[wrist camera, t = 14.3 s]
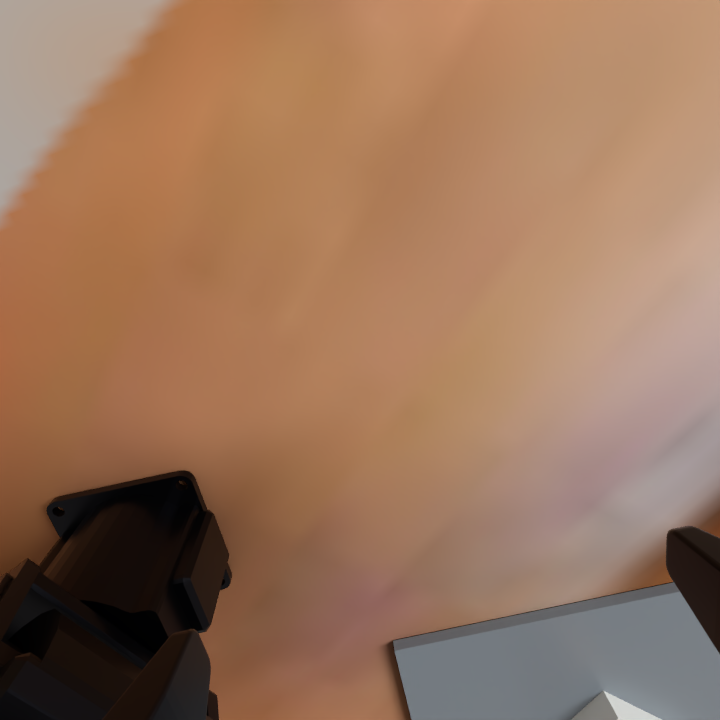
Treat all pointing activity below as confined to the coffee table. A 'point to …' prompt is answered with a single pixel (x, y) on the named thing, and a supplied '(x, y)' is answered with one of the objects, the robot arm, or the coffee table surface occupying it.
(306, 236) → the coffee table surface
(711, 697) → the mat
